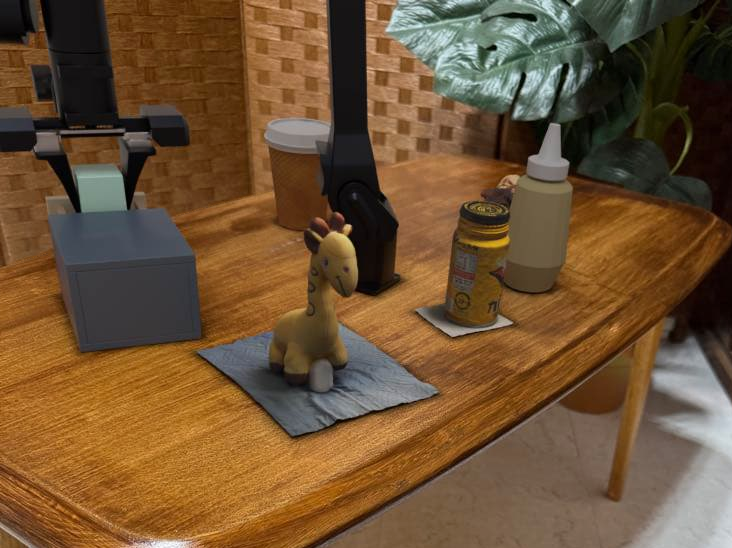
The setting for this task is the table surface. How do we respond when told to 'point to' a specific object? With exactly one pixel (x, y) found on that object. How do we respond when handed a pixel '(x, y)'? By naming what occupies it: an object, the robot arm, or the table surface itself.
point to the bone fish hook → (502, 191)
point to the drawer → (65, 206)
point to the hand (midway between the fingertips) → (103, 214)
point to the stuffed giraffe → (318, 350)
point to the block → (99, 187)
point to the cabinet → (126, 278)
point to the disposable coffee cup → (296, 170)
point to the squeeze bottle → (540, 219)
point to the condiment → (474, 271)
